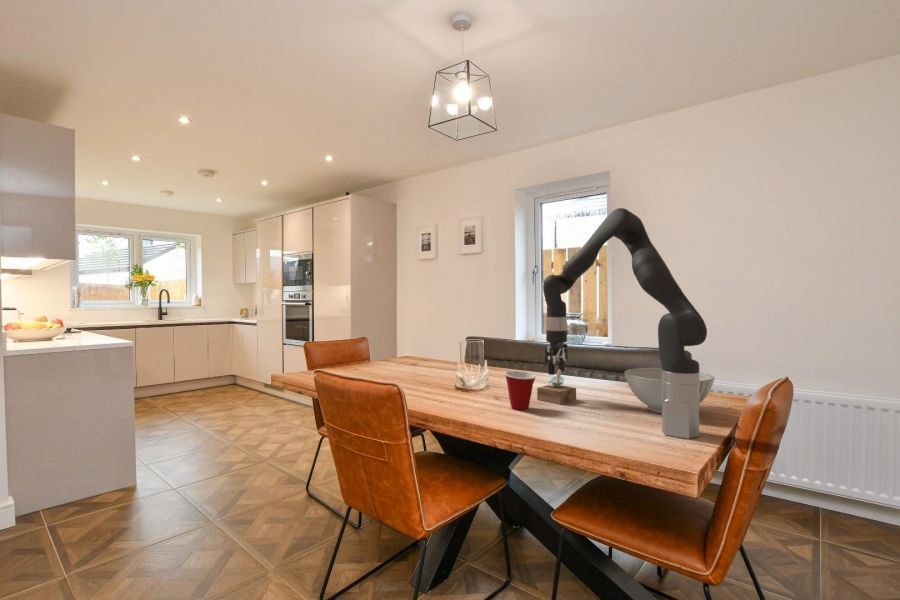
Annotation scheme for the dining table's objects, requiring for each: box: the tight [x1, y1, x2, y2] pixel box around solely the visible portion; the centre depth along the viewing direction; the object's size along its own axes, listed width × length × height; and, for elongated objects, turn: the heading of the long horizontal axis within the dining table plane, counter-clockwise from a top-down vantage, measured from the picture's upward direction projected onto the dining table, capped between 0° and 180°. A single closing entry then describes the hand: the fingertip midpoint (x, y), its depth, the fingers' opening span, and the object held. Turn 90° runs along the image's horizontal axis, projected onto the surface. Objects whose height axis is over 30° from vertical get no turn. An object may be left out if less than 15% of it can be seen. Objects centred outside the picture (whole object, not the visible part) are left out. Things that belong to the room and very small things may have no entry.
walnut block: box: [536, 383, 577, 406], centre depth 165 cm, size 10×10×5 cm
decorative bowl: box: [624, 367, 715, 414], centre depth 150 cm, size 27×27×12 cm
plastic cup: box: [504, 370, 537, 411], centre depth 153 cm, size 11×11×12 cm
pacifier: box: [546, 368, 565, 387], centre depth 168 cm, size 7×6×6 cm
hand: (556, 373), depth 166 cm, fingers open, 8 cm apart
